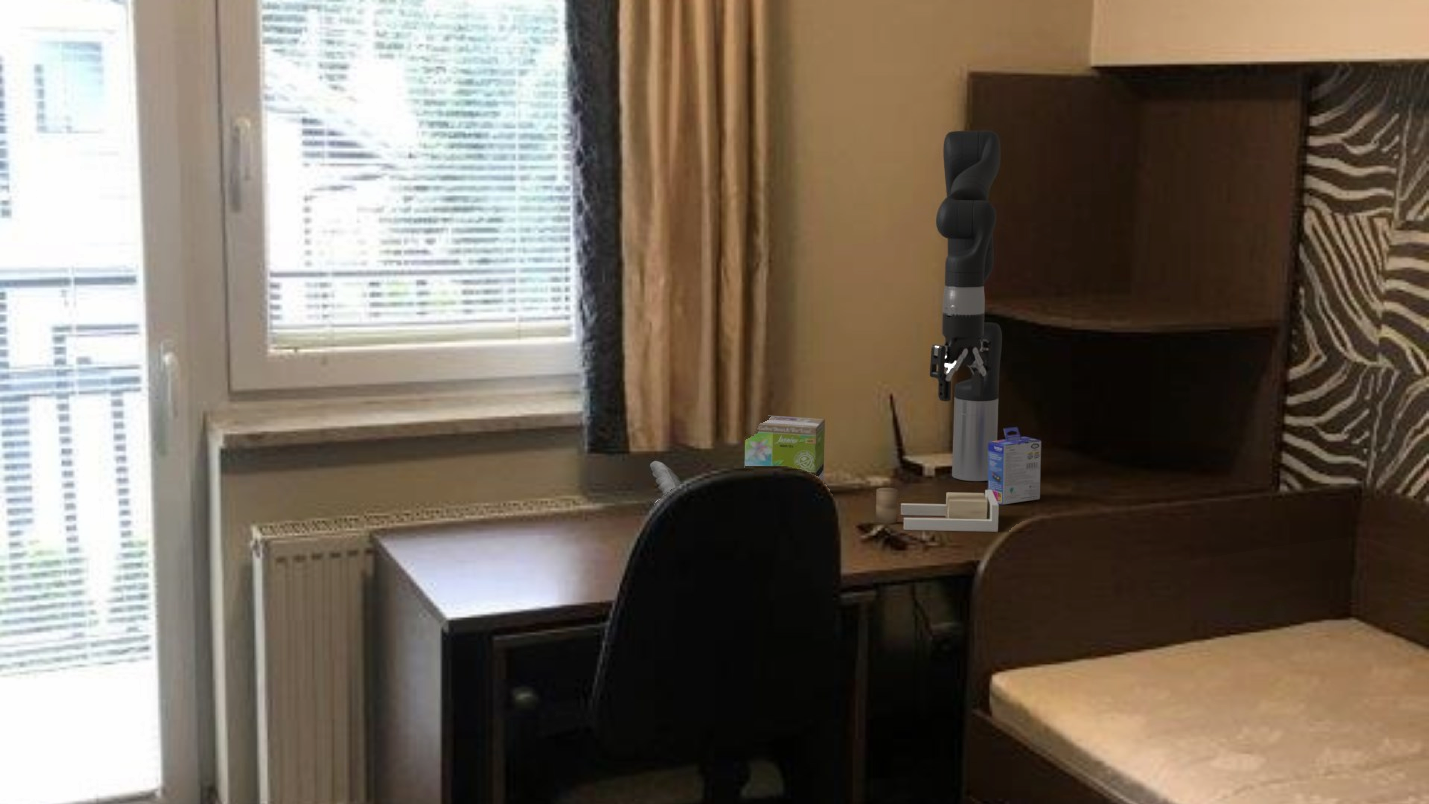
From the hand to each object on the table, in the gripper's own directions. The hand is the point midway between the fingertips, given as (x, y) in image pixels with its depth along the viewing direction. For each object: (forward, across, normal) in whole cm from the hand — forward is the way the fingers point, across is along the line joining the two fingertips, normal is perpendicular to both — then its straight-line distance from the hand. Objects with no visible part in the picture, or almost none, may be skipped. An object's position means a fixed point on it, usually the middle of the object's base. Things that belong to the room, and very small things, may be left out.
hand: (960, 398), depth 284 cm
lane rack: (+24, -1, -4) cm, 25 cm away
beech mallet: (+24, +1, -6) cm, 25 cm away
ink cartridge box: (+25, -25, -8) cm, 36 cm away
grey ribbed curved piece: (+25, +39, -39) cm, 60 cm away
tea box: (+25, +6, -43) cm, 50 cm away
